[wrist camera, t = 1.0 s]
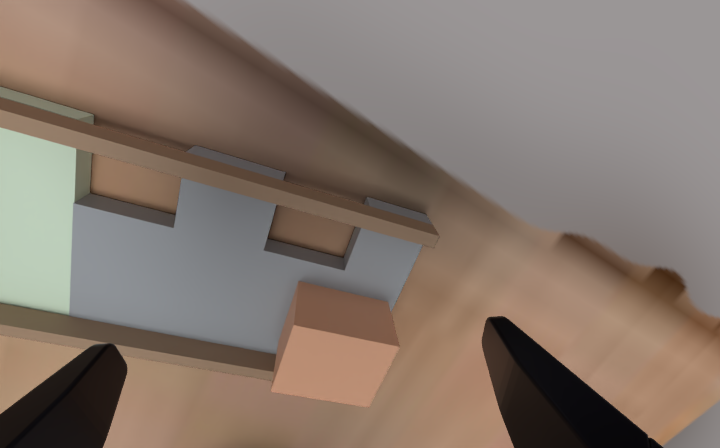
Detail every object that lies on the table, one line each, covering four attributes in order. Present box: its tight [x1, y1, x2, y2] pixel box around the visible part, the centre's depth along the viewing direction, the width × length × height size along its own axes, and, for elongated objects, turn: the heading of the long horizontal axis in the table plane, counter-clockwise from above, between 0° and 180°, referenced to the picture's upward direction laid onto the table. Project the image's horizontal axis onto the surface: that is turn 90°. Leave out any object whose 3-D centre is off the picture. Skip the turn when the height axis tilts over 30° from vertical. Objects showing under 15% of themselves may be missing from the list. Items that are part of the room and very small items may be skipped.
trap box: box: [0, 87, 440, 381], centre depth 21 cm, size 13×26×3 cm, turn 70°
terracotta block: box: [271, 281, 400, 408], centre depth 22 cm, size 5×6×4 cm
